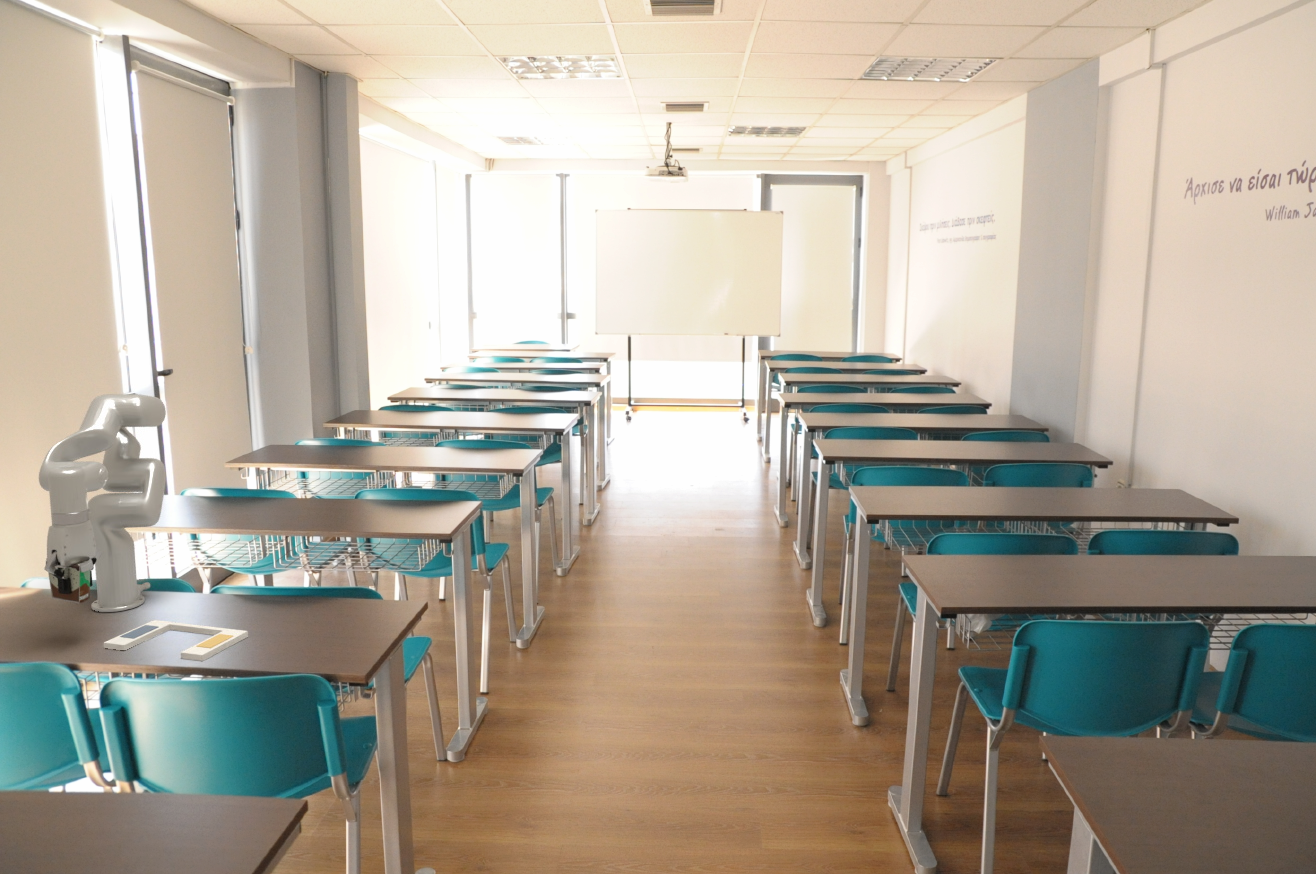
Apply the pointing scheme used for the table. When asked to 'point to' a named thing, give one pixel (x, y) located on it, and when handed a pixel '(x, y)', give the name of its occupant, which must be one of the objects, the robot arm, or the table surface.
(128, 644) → the label board
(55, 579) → the food container
